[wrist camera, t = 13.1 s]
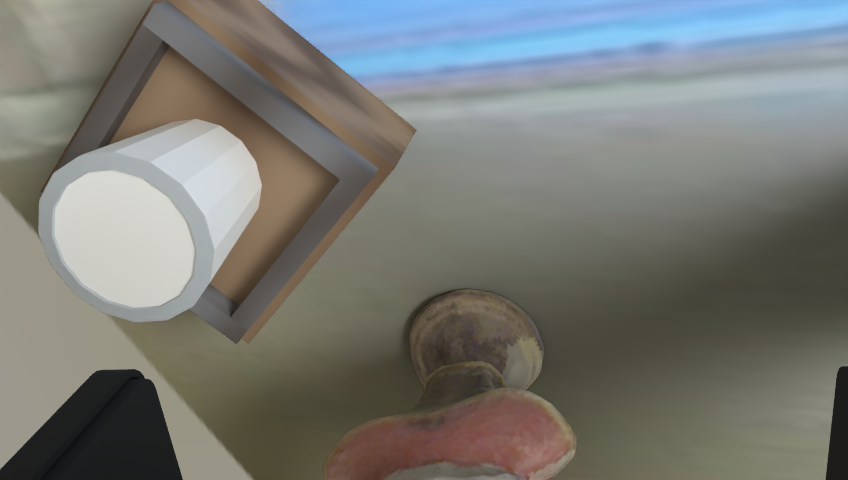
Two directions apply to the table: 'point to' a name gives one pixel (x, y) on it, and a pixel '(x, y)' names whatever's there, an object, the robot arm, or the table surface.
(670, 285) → the table surface
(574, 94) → the table surface
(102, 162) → the white short cylinder
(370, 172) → the display riser
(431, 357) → the decorative bust
